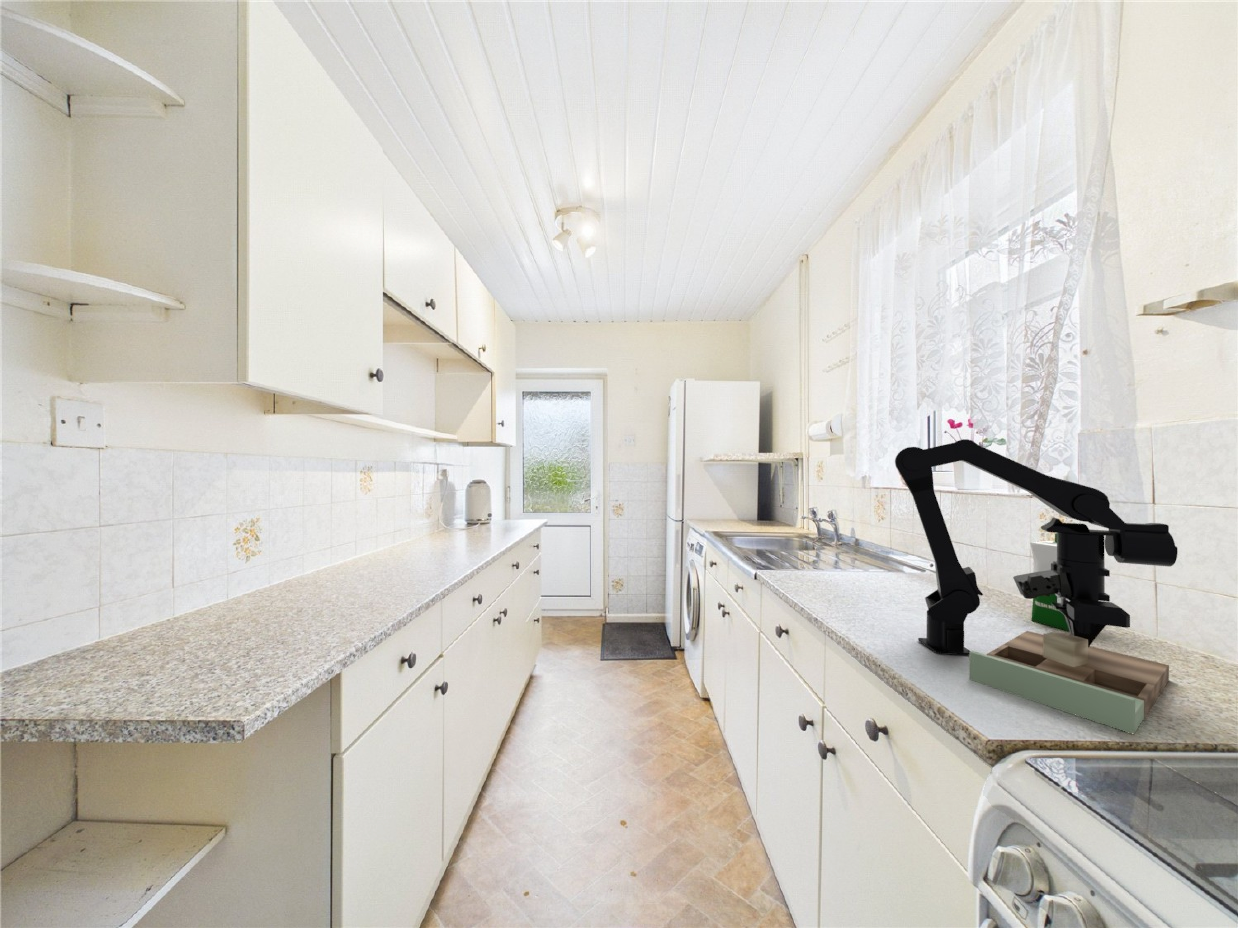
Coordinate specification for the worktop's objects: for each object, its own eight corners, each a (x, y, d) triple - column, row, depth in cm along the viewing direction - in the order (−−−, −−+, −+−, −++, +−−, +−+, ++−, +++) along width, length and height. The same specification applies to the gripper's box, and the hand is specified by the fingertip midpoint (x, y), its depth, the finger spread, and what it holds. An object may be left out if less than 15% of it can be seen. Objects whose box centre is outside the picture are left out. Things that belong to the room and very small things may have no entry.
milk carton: (1098, 629, 98) (1099, 537, 98) (1071, 633, 95) (1072, 538, 95) (1049, 616, 106) (1050, 531, 106) (1023, 619, 104) (1024, 532, 104)
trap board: (1026, 643, 90) (1026, 630, 90) (1168, 680, 75) (1168, 665, 75) (985, 668, 78) (985, 654, 78) (1143, 718, 63) (1144, 700, 63)
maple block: (1057, 653, 79) (1058, 630, 79) (1087, 663, 75) (1088, 639, 75) (1043, 657, 77) (1043, 633, 77) (1073, 667, 74) (1073, 642, 74)
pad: (985, 668, 78) (986, 642, 78) (1143, 718, 63) (1144, 686, 63) (969, 679, 74) (969, 651, 74) (1133, 734, 59) (1133, 700, 59)
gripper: (1006, 546, 90) (1006, 625, 90) (1033, 565, 73) (1033, 661, 73) (1084, 552, 84) (1084, 636, 84) (1131, 573, 68) (1131, 677, 68)
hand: (1080, 650), depth 77 cm, fingers closed
